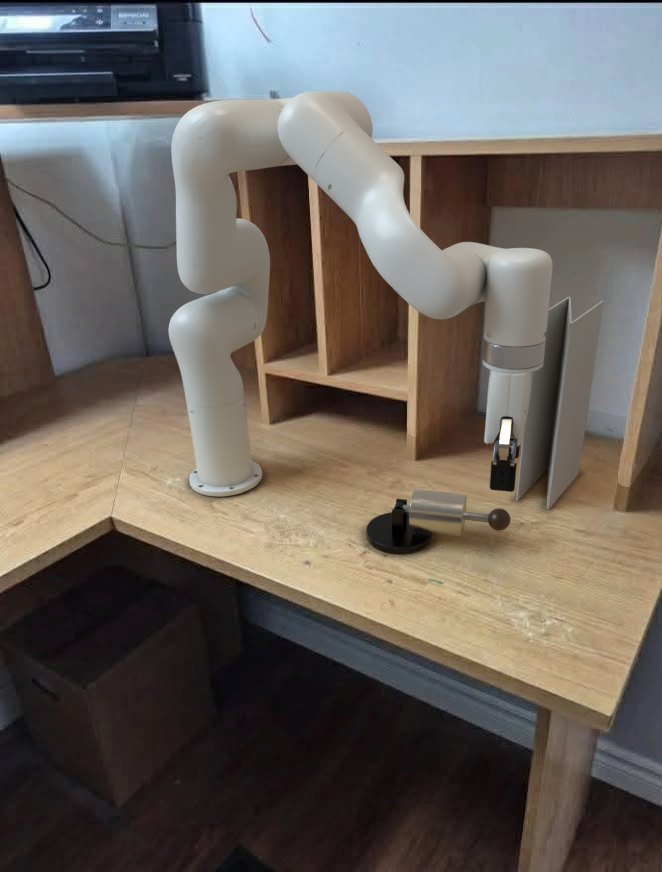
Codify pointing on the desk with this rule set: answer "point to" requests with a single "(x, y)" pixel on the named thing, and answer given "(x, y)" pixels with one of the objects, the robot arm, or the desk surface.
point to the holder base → (396, 533)
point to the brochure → (560, 401)
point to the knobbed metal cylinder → (447, 513)
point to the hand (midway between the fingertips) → (504, 472)
